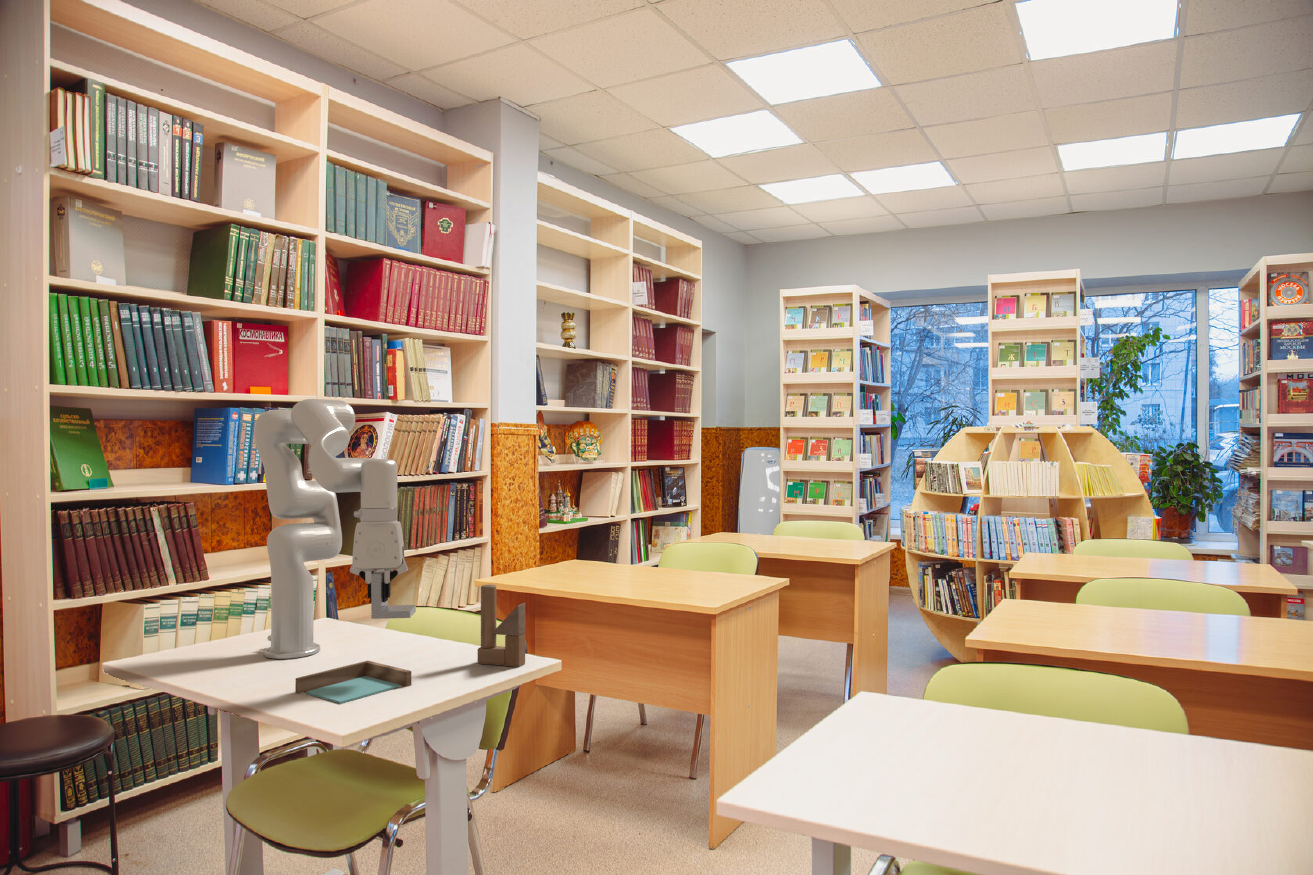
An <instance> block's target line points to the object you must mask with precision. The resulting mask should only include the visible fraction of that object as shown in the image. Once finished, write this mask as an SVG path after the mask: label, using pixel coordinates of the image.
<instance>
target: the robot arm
mask: <svg viewBox="0 0 1313 875" xmlns="http://www.w3.org/2000/svg"><path fill="white" fill-rule="evenodd" d="M355 424H356V414H355V411H354V409H353V407H352V406H351V405H350V404H349V403H348V402H346V401H344V400H339V399H322V398H321V399H320V398H307V399H303V400H300V401H298V402H297V403H296V404H294V405H293V406H292V408H291V409H284V408H283V409H271V410H267V411H264V412H262V413H261V414H260V415H259V416H257V419H256V420H255V424H254V430H253V435H254V436H253V437H254V444H255V447H256V449H257V452H258V455H259V457H260V459H261V462H262V465H263V468H264V478H265V486H266V493H267V502H268V507H269V510H270V514H271V515H272V517H273V518H275V519H276V520H277V519H279V520H299V519H300V520H302V519H312V520H313V522H301V523H288V524H283V525H279V526H277V527H275V528H273V529H272V530H271V531H270V532H269V534H268V535H267V538H266V548H267V553H268V554H267V555H268V559H269V566H270V580H271V581H270V583H271V584H270V591H271V592H270V596H271V597H270V598H271V599H270V600H271V601H270V602H271V605H270V610H271V611H270V613H271V614H270V617H271V618H270V619H271V622H270V634H269V635H268V636H267V641H269V642H270V647H267V648H265V649H264V651H263V656H264V657H266V658H268V659H276V660H277V659H278V660H282V659H283V660H284V659H287V660H288V659H297V658H302V657H308V656H311V655H314V654H317V653H319V651H321V645H320V644H318V643H315V642H314V607H315V606H314V598H315V595H314V594H315V593H314V591H315V590H314V587H315V586H314V585H315V584H314V583H315V582H314V578H313V575H312V573H311V572H310V570H309V569H308V568H307V567H306V565H305V563H306V562H307V563H308V562H313V561H321V560H330V559H333V558H335V557H337V556H338V555H339V554H340V553H341V550H342V546H343V533H342V526H341V519H340V512H339V504H338V499H337V494H336V493H339V494H340V493H353V492H354V493H356V492H357V493H360V508H359V509H357V510H354V511H353V517H354V518H357V519H359V521H360V522H357V523H356V525H355V529H354V536H353V546H352V547H353V548H352V559H351V560H352V563H351V565H350V568H349V572H350V573H351V574H354V575H356V576H359V577H360V578H361V579H362V580H364V582H365V584H367V599H369V602H370V604H371V574H372V573H374V572H375V571H377V570H380V569H384V583H383V602H386V601H387V600H388V601H389V599H390V598H391V596H392V595H391V593H392V592H391V591H392V590H391V588H392V587H391V582H392V581H393V580H394V579H395V578H396V577H397V576H398V575H401V574H403V573H405V572H407V571H408V570H409V567H408V564H407V562H406V560H405V546H404V544H405V543H404V535H403V529H402V523H401V521H398V464H397V462H396V461H395V460H394V459H389V458H375V457H373V458H372V457H337V456H339V455H341V454H342V453H343V452H344V451H345V450H346V449H347V447H348V445H349V444H350V440H351V439H350V438H351V437H350V433H351V432H352V430H353V428H354V427H355ZM288 444H290V445H291V444H293V445H294V444H297V445H299V444H300V445H304V444H305V445H306V444H307V445H310V449H309V452H308V457H307V458H308V460H307V461H308V462H307V463H308V468H309V471H310V473H311V476H312V477H313V479H314V480H305V477H304V475H303V467H302V463H301V461H300V459H299V457H298V456H297V455H296V453H294V451H293V450H292V449H290V447H289V446H287V445H288Z"/></svg>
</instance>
